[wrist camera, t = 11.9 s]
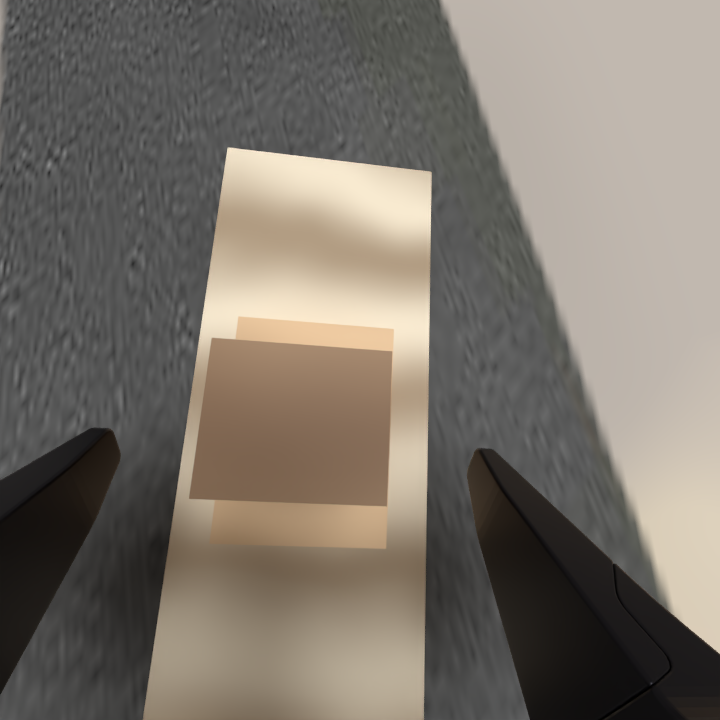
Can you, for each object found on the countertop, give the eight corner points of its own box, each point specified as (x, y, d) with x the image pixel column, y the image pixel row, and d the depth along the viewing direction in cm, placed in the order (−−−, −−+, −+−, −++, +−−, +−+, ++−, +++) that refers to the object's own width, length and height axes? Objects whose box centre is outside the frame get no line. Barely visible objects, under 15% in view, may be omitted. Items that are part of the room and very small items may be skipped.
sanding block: (377, 533, 15) (448, 659, 6) (224, 529, 14) (89, 658, 6) (385, 341, 16) (449, 245, 8) (248, 330, 16) (168, 216, 8)
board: (405, 685, 16) (423, 740, 14) (173, 687, 16) (138, 746, 13) (416, 208, 21) (431, 171, 18) (241, 188, 21) (227, 147, 18)
